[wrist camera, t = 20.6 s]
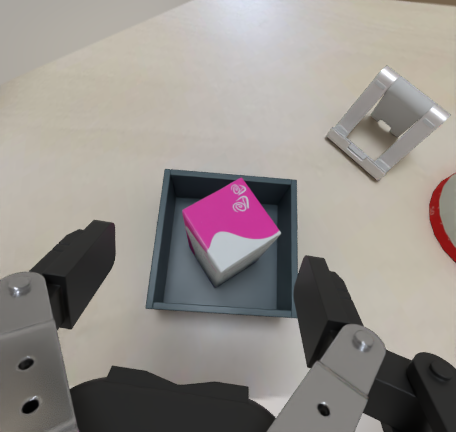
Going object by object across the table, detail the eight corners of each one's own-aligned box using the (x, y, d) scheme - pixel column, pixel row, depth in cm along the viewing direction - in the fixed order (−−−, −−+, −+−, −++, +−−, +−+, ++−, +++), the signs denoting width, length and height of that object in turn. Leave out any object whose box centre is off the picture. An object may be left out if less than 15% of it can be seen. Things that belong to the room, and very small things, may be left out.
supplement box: (259, 259, 33) (284, 234, 22) (214, 289, 32) (217, 277, 21) (231, 217, 35) (241, 174, 24) (186, 243, 33) (176, 211, 22)
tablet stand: (323, 138, 39) (353, 94, 31) (360, 105, 41) (396, 56, 33) (374, 183, 38) (419, 148, 30) (409, 146, 40) (460, 105, 32)
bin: (157, 309, 32) (145, 308, 25) (172, 193, 36) (164, 168, 29) (281, 317, 32) (298, 318, 26) (281, 202, 36) (296, 179, 30)
